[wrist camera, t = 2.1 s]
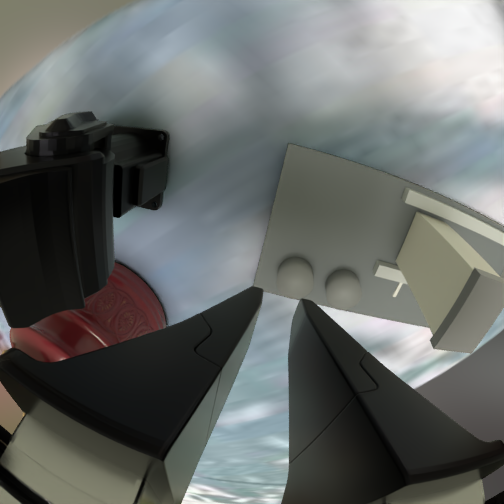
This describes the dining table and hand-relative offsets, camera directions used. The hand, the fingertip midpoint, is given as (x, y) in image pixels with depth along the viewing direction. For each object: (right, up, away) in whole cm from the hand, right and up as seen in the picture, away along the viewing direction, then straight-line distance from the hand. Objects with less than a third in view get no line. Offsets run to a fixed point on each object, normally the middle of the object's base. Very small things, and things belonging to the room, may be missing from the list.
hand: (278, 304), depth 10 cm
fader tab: (+12, +3, +10) cm, 16 cm away
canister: (-16, -4, +19) cm, 25 cm away
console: (+12, +1, +12) cm, 17 cm away
